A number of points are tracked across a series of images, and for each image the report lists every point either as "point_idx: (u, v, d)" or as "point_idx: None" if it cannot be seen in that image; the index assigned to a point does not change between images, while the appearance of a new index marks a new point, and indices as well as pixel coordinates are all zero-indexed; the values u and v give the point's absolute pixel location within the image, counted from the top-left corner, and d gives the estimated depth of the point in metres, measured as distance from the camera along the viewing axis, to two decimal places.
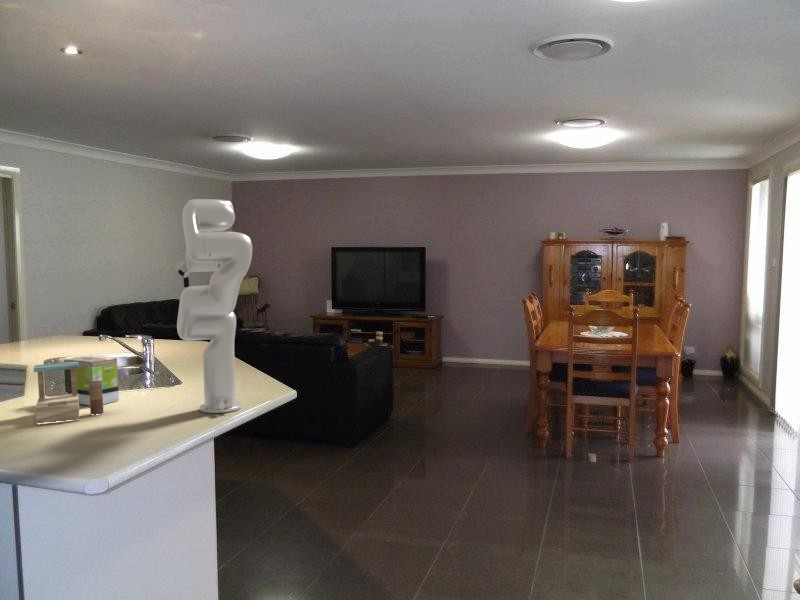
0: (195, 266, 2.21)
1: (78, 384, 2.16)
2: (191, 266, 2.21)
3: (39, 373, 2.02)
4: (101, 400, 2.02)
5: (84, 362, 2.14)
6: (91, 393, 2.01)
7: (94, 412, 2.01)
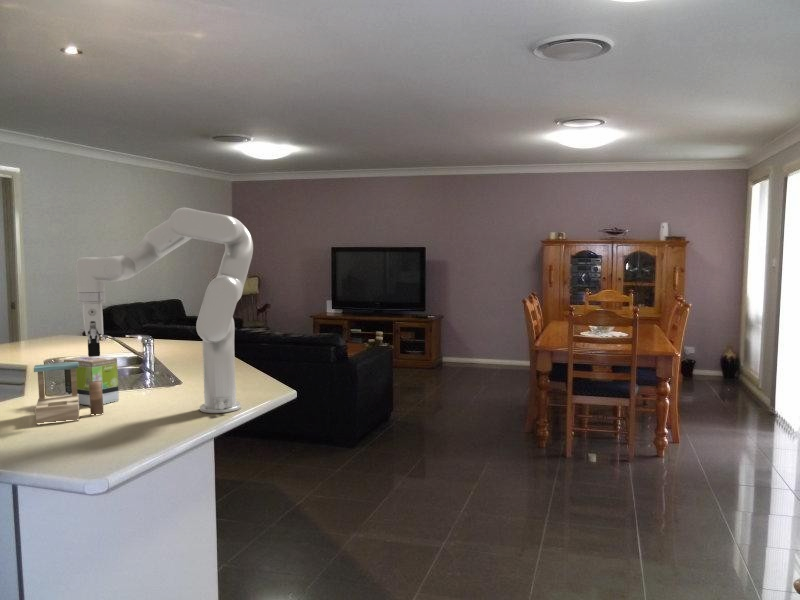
0: None
1: (78, 384, 2.16)
2: None
3: (39, 373, 2.02)
4: (101, 400, 2.02)
5: (84, 362, 2.14)
6: (91, 393, 2.01)
7: (94, 412, 2.01)
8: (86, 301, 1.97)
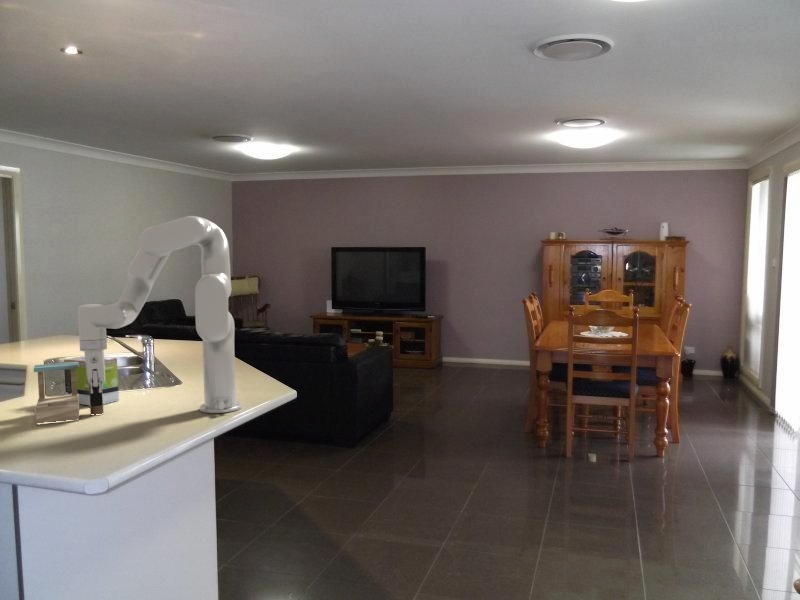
0: None
1: (78, 384, 2.16)
2: None
3: (39, 373, 2.02)
4: None
5: (84, 362, 2.14)
6: None
7: (94, 412, 2.01)
8: (88, 349, 1.98)
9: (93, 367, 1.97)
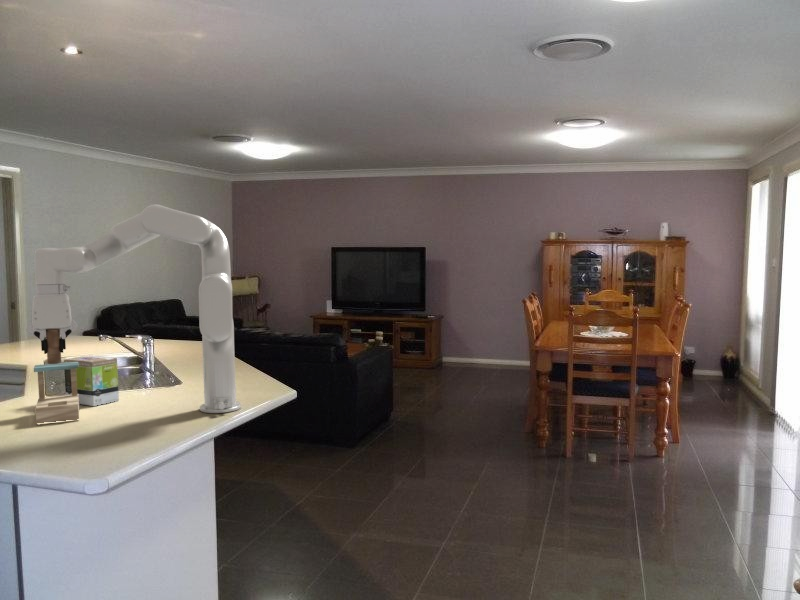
0: None
1: (78, 384, 2.16)
2: None
3: (39, 373, 2.02)
4: None
5: (84, 362, 2.14)
6: (57, 340, 1.94)
7: (60, 359, 1.95)
8: (64, 292, 1.94)
9: (70, 310, 1.96)
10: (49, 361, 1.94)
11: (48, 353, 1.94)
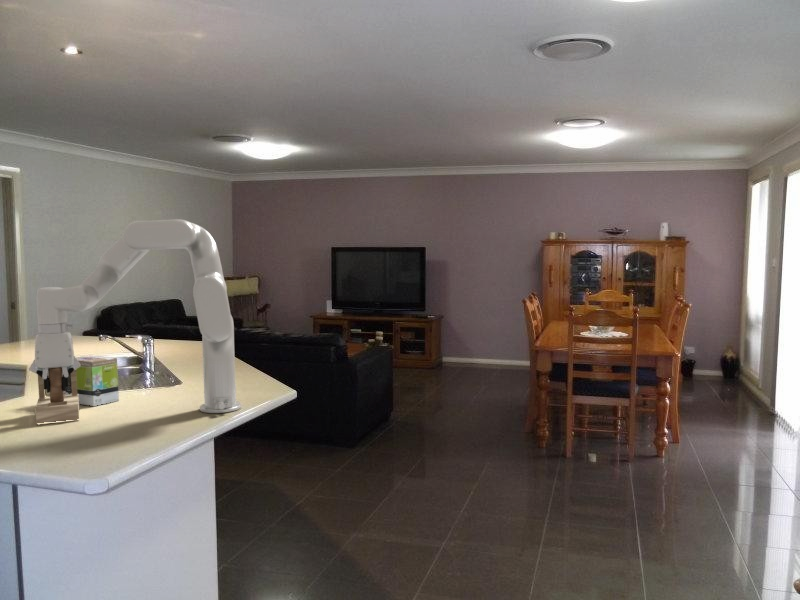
0: None
1: (78, 384, 2.16)
2: None
3: None
4: None
5: (84, 362, 2.14)
6: (60, 378, 1.95)
7: (63, 397, 1.96)
8: (66, 331, 1.95)
9: (72, 348, 1.97)
10: (52, 400, 1.95)
11: (51, 392, 1.94)
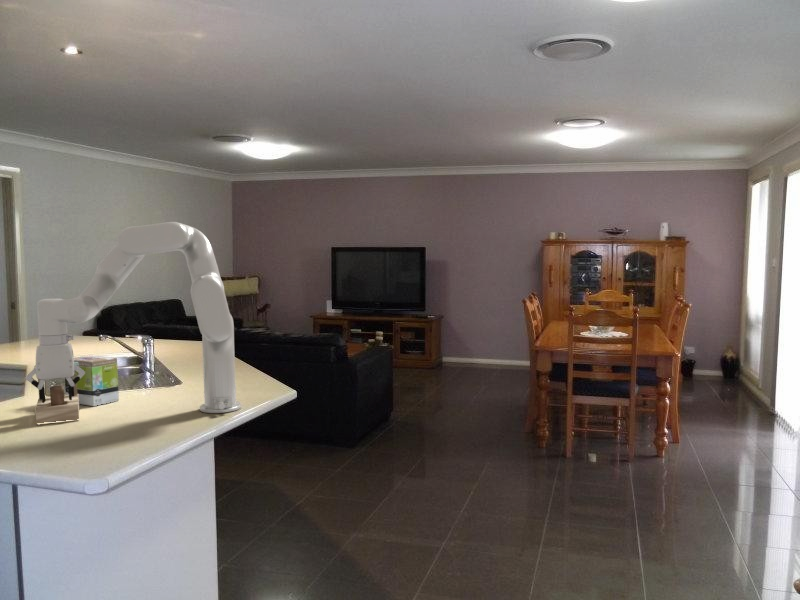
0: None
1: (78, 384, 2.16)
2: None
3: None
4: None
5: (84, 362, 2.14)
6: (61, 397, 1.96)
7: None
8: (67, 342, 1.95)
9: (73, 359, 1.97)
10: None
11: None
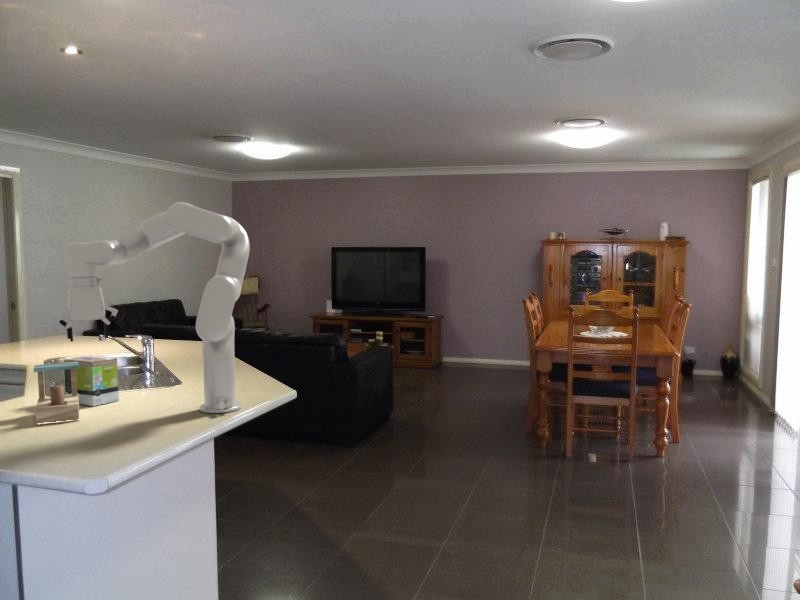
0: None
1: (78, 384, 2.16)
2: None
3: (39, 373, 2.02)
4: None
5: (84, 362, 2.14)
6: (61, 397, 1.96)
7: None
8: (97, 285, 2.01)
9: None
10: None
11: None
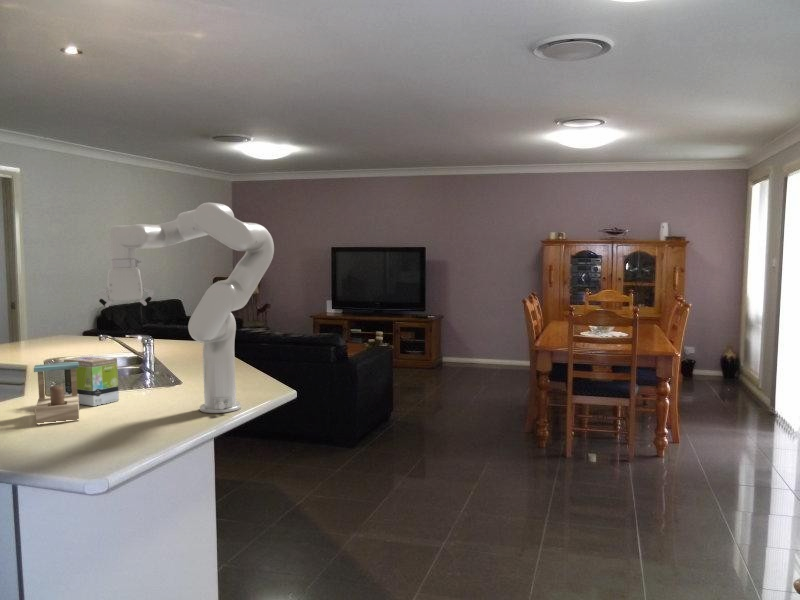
0: None
1: (78, 384, 2.16)
2: None
3: (39, 373, 2.02)
4: None
5: (84, 362, 2.14)
6: (62, 397, 1.96)
7: None
8: (136, 266, 2.09)
9: (141, 283, 2.12)
10: None
11: None
